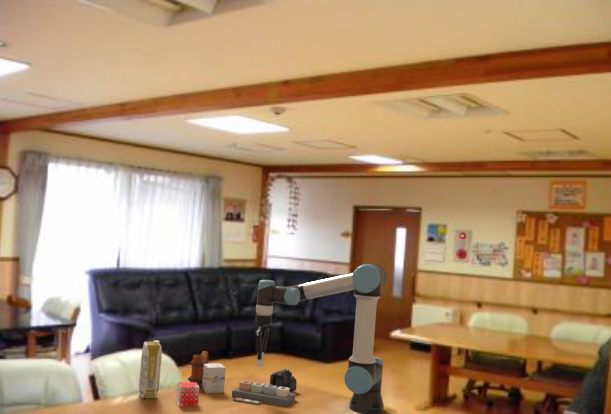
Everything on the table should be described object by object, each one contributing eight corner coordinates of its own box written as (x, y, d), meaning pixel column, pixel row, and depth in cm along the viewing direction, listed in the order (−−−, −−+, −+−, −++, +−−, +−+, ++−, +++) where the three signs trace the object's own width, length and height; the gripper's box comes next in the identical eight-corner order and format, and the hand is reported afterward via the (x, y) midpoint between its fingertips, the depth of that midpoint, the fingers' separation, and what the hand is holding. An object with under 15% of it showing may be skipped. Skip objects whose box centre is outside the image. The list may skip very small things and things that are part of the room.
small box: (176, 401, 258) (177, 382, 259) (194, 400, 261) (196, 382, 261) (179, 406, 251) (180, 387, 251) (197, 406, 254) (199, 387, 254)
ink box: (201, 388, 281) (203, 363, 281) (218, 387, 284) (220, 362, 285) (206, 393, 273) (208, 367, 274) (224, 392, 277) (226, 367, 277)
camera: (265, 390, 287) (267, 369, 287) (272, 385, 296) (274, 365, 297) (292, 394, 283) (293, 373, 283) (298, 389, 292) (300, 369, 293)
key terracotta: (252, 389, 276) (252, 381, 276) (248, 392, 272) (248, 383, 272) (242, 388, 278) (243, 379, 278) (238, 390, 273) (239, 382, 274)
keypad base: (295, 400, 274) (295, 393, 274) (286, 406, 262) (286, 399, 262) (242, 391, 282) (242, 384, 282) (231, 397, 270) (232, 390, 270)
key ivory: (289, 396, 271) (289, 387, 271) (285, 398, 266) (286, 389, 267) (279, 394, 272) (280, 385, 272) (276, 396, 268) (276, 388, 268)
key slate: (276, 393, 273) (277, 385, 273) (273, 396, 268) (273, 387, 268) (267, 392, 274) (267, 383, 274) (263, 394, 270) (264, 386, 270)
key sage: (264, 391, 274) (265, 383, 275) (260, 394, 270) (261, 385, 270) (255, 390, 276) (255, 381, 276) (251, 392, 272) (251, 384, 272)
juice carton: (158, 399, 259) (163, 342, 260) (139, 399, 256) (144, 342, 257) (155, 393, 268) (160, 338, 269) (137, 393, 265) (142, 338, 266)
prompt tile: (261, 403, 264) (261, 401, 264) (258, 405, 261) (258, 403, 261) (236, 399, 268) (236, 397, 268) (233, 400, 265) (233, 398, 265)
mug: (201, 389, 280) (204, 356, 280) (185, 386, 281) (187, 354, 282) (212, 382, 294) (215, 351, 294) (196, 379, 296) (199, 349, 296)
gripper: (261, 311, 282) (257, 362, 281) (250, 314, 269) (246, 367, 268) (276, 313, 279) (272, 364, 279) (266, 316, 267) (261, 370, 266)
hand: (259, 366), depth 273 cm, fingers closed
